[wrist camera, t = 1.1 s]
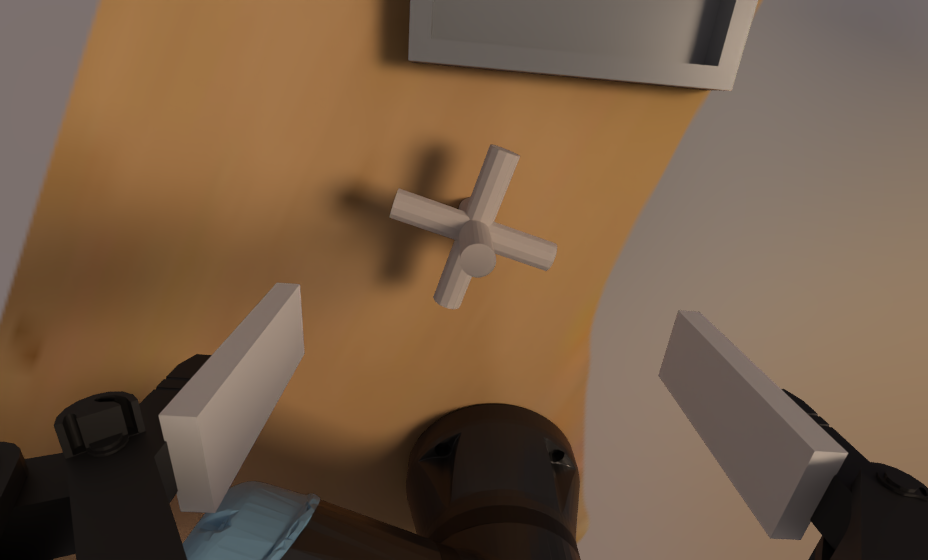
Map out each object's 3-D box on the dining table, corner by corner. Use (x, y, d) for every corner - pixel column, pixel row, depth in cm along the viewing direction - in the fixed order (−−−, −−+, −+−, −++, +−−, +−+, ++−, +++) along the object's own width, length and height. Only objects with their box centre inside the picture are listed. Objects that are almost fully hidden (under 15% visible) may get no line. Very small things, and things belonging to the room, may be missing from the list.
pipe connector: (426, 112, 29) (412, 126, 20) (565, 166, 31) (612, 201, 22) (382, 250, 33) (354, 314, 24) (509, 292, 34) (529, 368, 25)
